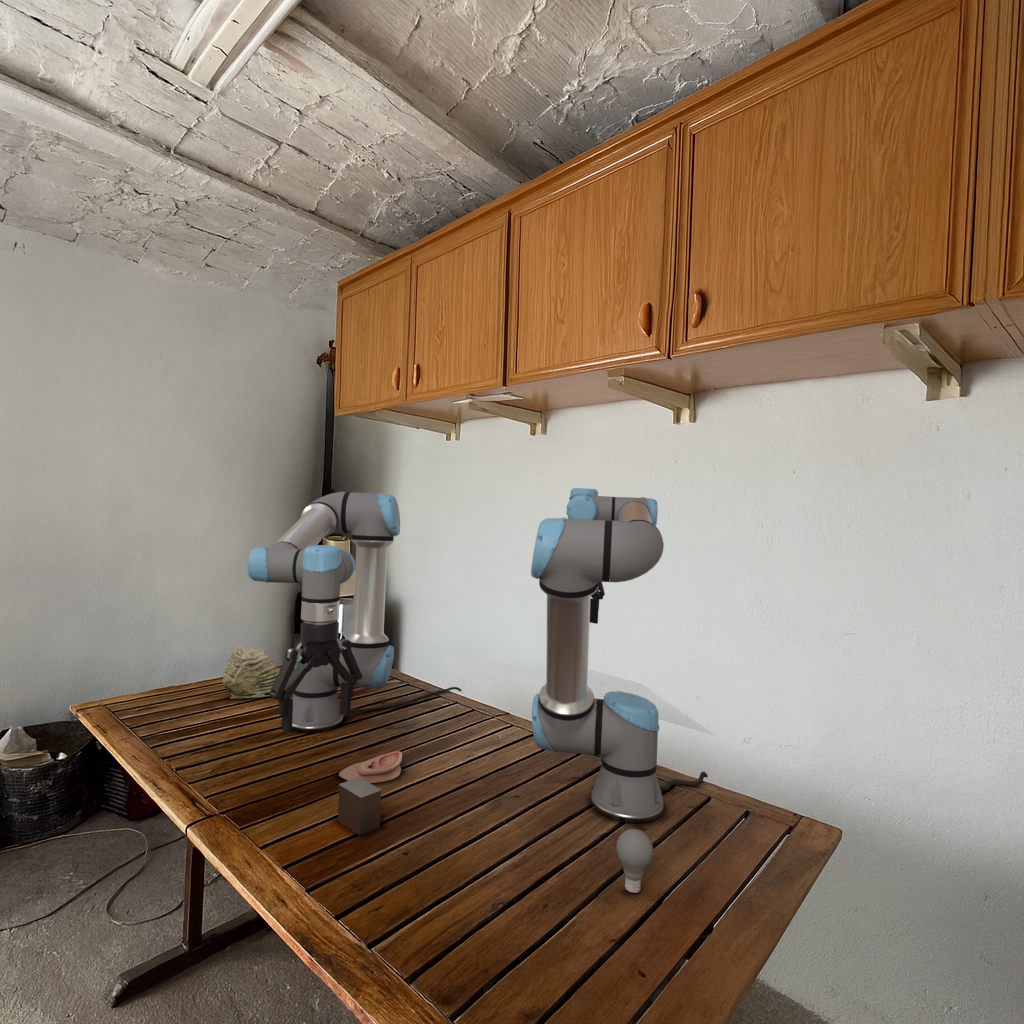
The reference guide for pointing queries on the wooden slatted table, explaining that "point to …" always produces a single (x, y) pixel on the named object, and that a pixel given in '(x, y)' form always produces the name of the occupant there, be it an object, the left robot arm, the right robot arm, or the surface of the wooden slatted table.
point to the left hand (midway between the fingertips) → (317, 722)
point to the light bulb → (634, 857)
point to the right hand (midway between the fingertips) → (578, 625)
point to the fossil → (249, 673)
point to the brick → (359, 805)
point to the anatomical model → (375, 768)
